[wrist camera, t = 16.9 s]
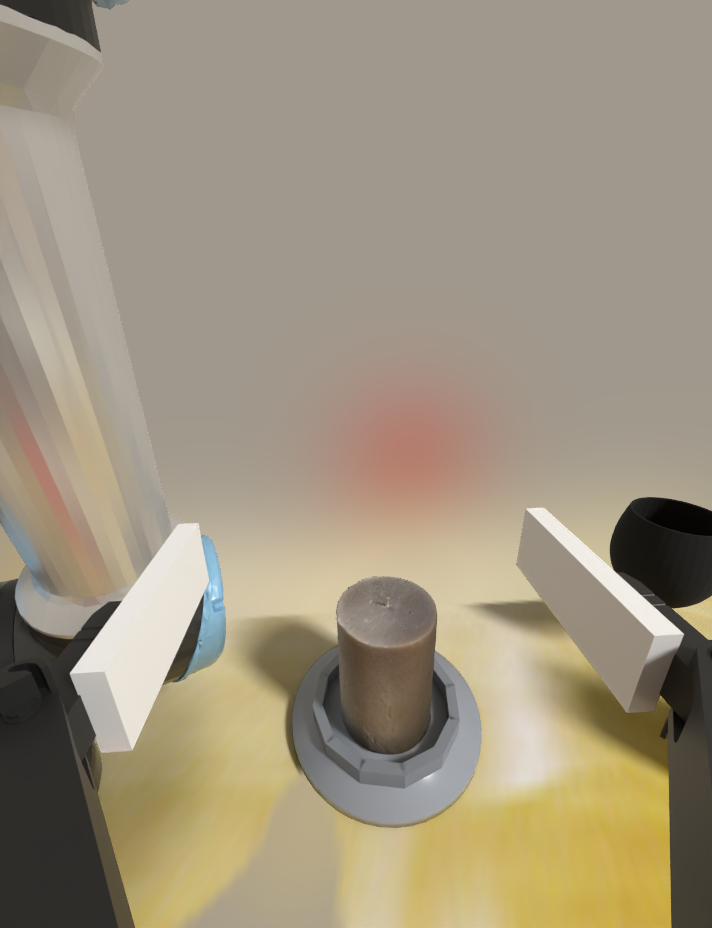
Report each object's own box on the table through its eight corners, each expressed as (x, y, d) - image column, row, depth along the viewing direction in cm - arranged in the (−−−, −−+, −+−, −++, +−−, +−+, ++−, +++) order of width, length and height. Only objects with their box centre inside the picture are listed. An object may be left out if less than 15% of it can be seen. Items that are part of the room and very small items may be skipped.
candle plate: (266, 812, 33) (263, 792, 32) (314, 634, 52) (313, 618, 51) (501, 842, 31) (506, 822, 30) (464, 646, 50) (466, 629, 49)
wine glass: (572, 619, 54) (603, 492, 47) (651, 625, 53) (696, 495, 45) (608, 686, 44) (655, 538, 37) (706, 694, 43) (775, 544, 36)
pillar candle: (449, 726, 39) (462, 610, 34) (367, 777, 35) (367, 653, 30) (397, 657, 47) (400, 555, 42) (325, 692, 43) (318, 582, 38)
